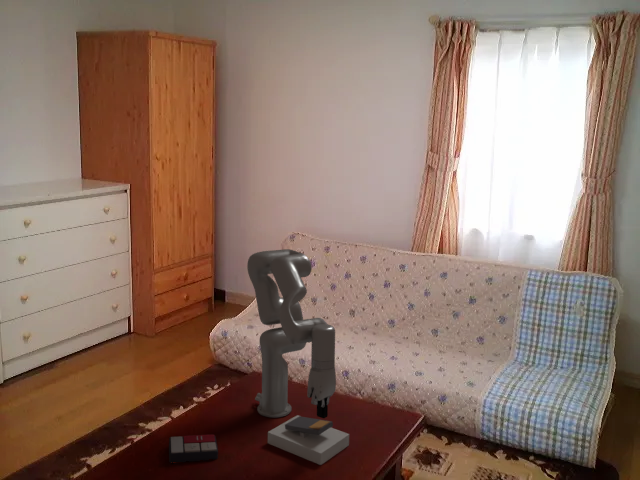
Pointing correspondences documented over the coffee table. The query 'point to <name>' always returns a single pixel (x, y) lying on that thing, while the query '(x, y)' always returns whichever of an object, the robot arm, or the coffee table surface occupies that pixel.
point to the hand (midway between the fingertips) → (322, 416)
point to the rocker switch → (309, 425)
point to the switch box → (309, 442)
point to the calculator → (192, 448)
